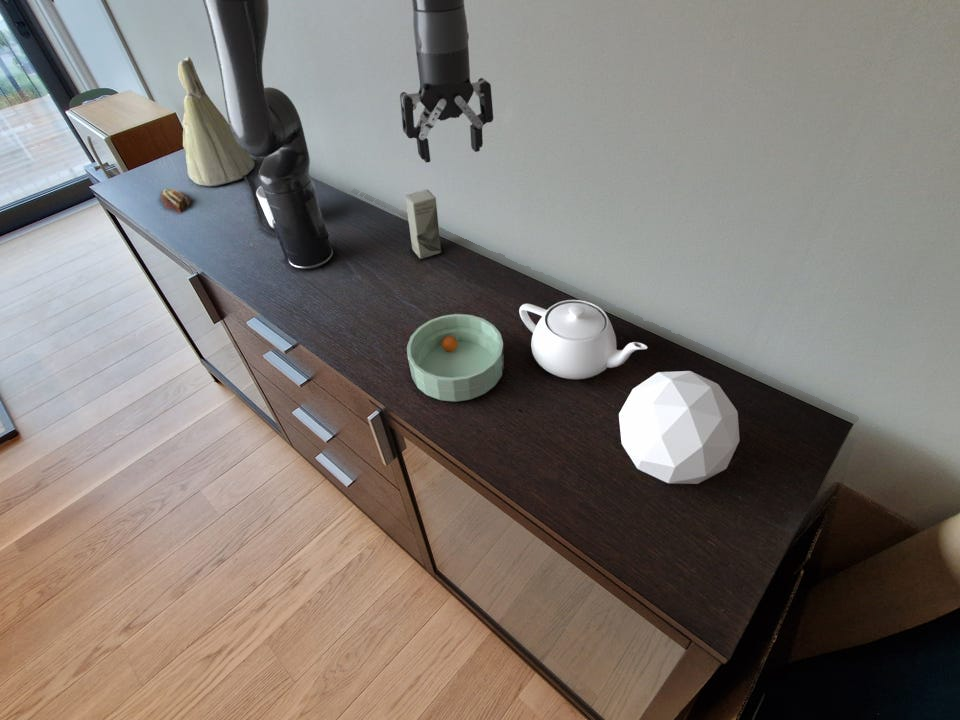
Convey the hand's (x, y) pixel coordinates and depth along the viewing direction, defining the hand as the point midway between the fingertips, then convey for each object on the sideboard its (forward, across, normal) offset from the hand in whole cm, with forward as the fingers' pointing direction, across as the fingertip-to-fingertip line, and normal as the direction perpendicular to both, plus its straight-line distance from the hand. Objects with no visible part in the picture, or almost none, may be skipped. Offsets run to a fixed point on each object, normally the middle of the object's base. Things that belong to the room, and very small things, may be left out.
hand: (451, 155), depth 86 cm
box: (+26, +3, -14) cm, 29 cm away
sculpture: (+26, +43, -76) cm, 91 cm away
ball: (+24, +9, +18) cm, 31 cm away
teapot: (+26, -10, +28) cm, 40 cm away
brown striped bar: (+26, +56, -65) cm, 89 cm away
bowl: (+26, +9, +22) cm, 35 cm away
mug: (+26, +27, -41) cm, 56 cm away
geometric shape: (+26, -12, +50) cm, 58 cm away
